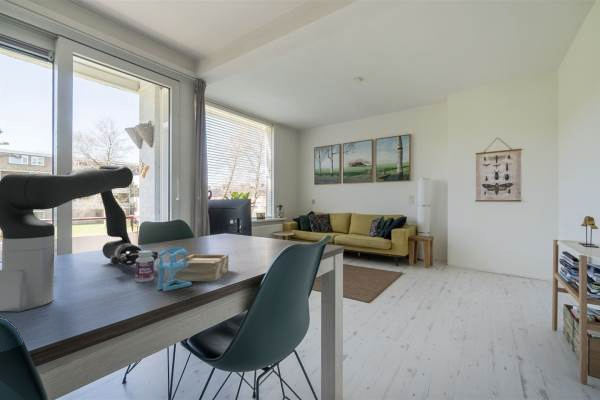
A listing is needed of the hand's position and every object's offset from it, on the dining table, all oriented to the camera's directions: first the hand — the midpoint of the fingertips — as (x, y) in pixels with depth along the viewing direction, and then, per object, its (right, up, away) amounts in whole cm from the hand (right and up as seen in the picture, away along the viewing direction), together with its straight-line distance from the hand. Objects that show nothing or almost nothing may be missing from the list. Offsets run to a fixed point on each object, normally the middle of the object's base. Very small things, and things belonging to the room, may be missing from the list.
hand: (140, 260), depth 91 cm
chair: (+16, -6, -10) cm, 20 cm away
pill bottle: (+3, -6, -3) cm, 8 cm away
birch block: (+21, -6, +3) cm, 22 cm away
